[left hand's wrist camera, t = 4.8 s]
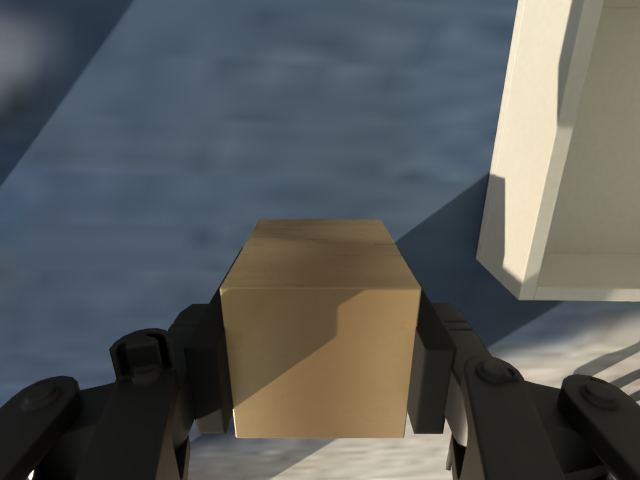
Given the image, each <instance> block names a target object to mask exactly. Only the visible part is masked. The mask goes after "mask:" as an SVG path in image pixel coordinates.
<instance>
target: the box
mask: <svg viewBox="0 0 640 480" xmlns="http://www.w3.org/2000/svg"><path fill="white" fill-rule="evenodd" d="M476 259H477V260H478V261H479V262H480V263H481V264H482V265H483V266H484V267H485V268H486V269H487V270H488V271H489V272H490V273H491V274H492V275H493V276H494V277H495V278H496V279H497V280H498V281H499V282H500V283H501V284H503V285H504V286H505V287H506V288H507V289H508V290H509V291H510V292H511V293H512V294H513V295H514V296H515V297H516V298H517V299H518V300H577V301H640V0H518V6H517V12H516V18H515V25H514V31H513V37H512V43H511V49H510V55H509V61H508V67H507V73H506V79H505V85H504V91H503V97H502V103H501V109H500V115H499V121H498V127H497V133H496V140H495V146H494V152H493V158H492V164H491V170H490V176H489V182H488V188H487V194H486V200H485V206H484V212H483V218H482V224H481V230H480V236H479V242H478V249H477V255H476Z"/></svg>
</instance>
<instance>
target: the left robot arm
mask: <svg viewBox="0 0 640 480" xmlns="http://www.w3.org/2000/svg"><path fill="white" fill-rule="evenodd" d="M397 248H398V247H397ZM242 249H243V247H242ZM242 249H241V250H240V252H241V251H242ZM398 250H399V248H398ZM399 251H400V250H399ZM240 252H239V254H240ZM400 253H401V252H400ZM239 254H238V255H237V257H236V259H237V258H238V256H239ZM401 255H402V253H401ZM402 256H403V255H402ZM403 258H404V257H403ZM236 259H235V261H236ZM404 260H405V259H404ZM235 261H234V262H233V264H232V266H233V265H234V263H235ZM405 262H406V260H405ZM406 263H407V262H406ZM407 265H408V264H407ZM232 266H231V267H230V269H229V271H230V270H231V268H232ZM408 267H409V265H408ZM409 268H410V267H409ZM410 270H411V269H410ZM229 271H228V273H229ZM411 272H412V270H411ZM228 273H227V274H226V276H225V278H226V277H227V275H228ZM412 273H413V272H412ZM413 275H414V274H413ZM414 277H415V276H414ZM225 278H224V279H223V281H222V283H221V284H220V286H219V288H218V290H217V291H216V293H215V295H214V296H213V298H212V300H211V302H210V303H209V304H192V305H190V306H189V307H187V308H186V309H185V310H183V311H182V312H180V314H179V315H178V317H177V318H176V319H175V321H174V324H172V325H171V327H170V328H169V329H168V332H167V331H166V330H163V329H158V328H150V329H143V330H139V331H135V332H132V333H130V334H128V335H125V336H123V337H122V338H120V339H119V340H118V341H116V342H115V343H114V344H113V345H112V347H111V348H110V349H109V351H110V355H111V359H112V362H113V366H114V370H115V374H116V378H117V379H116V381H115V382H114V383H110V384H107V385H103V386H98V387H94V388H89V389H84V390H80V388H79V385H78V382H77V381H76V380H75V379H74V378H73V377H68V376H58V377H51V378H47V379H44V380H41V381H38V382H36V383H34V384H32V385H30V386H28V387H26V388H24V389H23V390H21V391H20V392H19V393H17V394H16V395H15V396H13V397H12V398H11V399H10V400H9V401H8V402H7V403H6V404H4V405H3V406H2V407H1V408H0V480H26V479H27V478H28V477H29V480H187V476H188V467H189V457H190V441H189V435H188V434H189V431H190V429H191V426H192V424H193V422H194V419H195V422H196V428H197V434H226V432H227V429H228V426H229V422H230V419H231V415H232V412H233V409H234V408H233V399H232V390H231V381H230V372H229V363H228V353H227V344H226V335H225V327H224V322H223V313H222V304H221V295H220V287H221V285H222V284H223V282H224V280H225ZM415 278H416V277H415ZM416 280H417V279H416ZM417 282H418V281H417ZM418 284H419V282H418ZM419 285H420V284H419ZM420 287H421V286H420ZM407 411H408V415H409V418H410V421H411V425H412V428H413V432H414V434H443V430H444V424H445V418H446V419H447V422H448V424H449V426H450V429H451V431H452V435H451V441H450V446H449V452H448V458H447V464H446V470H450V469H451V466H452V475H453V480H612V479H611V478H612V476H614V477H615V479H616V480H640V406H639V405H638V404H637V403H636V402H635V401H634V400H633V399H632V398H631V397H630V396H628V395H627V394H626V393H624V392H623V391H622V390H620V389H619V388H618V387H616V386H614V385H612V384H610V383H608V382H606V381H604V380H601V379H599V378H595V377H592V376H586V375H579V374H577V375H570V376H568V377H566V378H565V379H564V380H563V383H562V386H561V389H558V388H553V387H549V386H544V385H540V384H535V383H532V382H528V381H525V380H524V378H523V377H522V375H521V374H520V372H519V371H518V370H517V369H516V368H514V367H513V366H512V365H511V364H509V363H507V362H505V361H503V360H501V359H499V358H495V357H492V356H491V354H490V353H489V351H488V350H487V349H486V347H485V346H484V344H483V343H482V342H481V340H480V339H479V337H478V336H477V335H476V333H475V332H474V331H472V328H471V326H470V325H469V323H467V321H466V319H465V318H464V316H463V315H462V314H461V312H460V311H459V310H457V309H456V308H455V307H453V306H452V305H450V304H449V303H430V301H429V299H428V298H427V296H426V294H425V293H424V291H423V289H422V287H421V297H420V306H419V314H418V323H417V327H416V329H415V338H414V347H413V356H412V365H411V374H410V383H409V392H408V401H407Z"/></svg>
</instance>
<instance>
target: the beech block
mask: <svg viewBox="0 0 640 480" xmlns="http://www.w3.org/2000/svg"><path fill="white" fill-rule="evenodd" d="M220 295H221V304H222V313H223V322H224V327H225V335H226V344H227V353H228V363H229V372H230V381H231V390H232V399H233V408H234V409H233V415H234V424H235V433H236V438H404V435H405V426H406V418H407V401H408V392H409V383H410V374H411V365H412V356H413V347H414V338H415V329H416V327H417V323H418V314H419V306H420V297H421V287H420V285H419V284H418V282H417V280H416V278H415V277H414V275H413V273H412V272H411V270H410V268H409V267H408V265H407V263H406V262H405V260H404V258H403V256H402V255H401V253H400V251H399V250H398V248H397V246H396V245H395V243H394V241H393V240H392V238H391V236H390V234H389V233H388V231H387V229H386V228H385V226H384V224H383V223H382V221H381V220H367V219H260V220H259V221H258V223H257V225H256V227H255V228H254V230H253V232H252V233H251V235H250V237H249V239H248V240H247V242H246V244H245V246H244V247H243V249H242V251H241V252H240V254H239V256H238V258H237V259H236V261H235V263H234V265H233V266H232V268H231V270H230V271H229V273H228V275H227V277H226V278H225V280H224V282H223V284H222V285H221V287H220Z"/></svg>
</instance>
